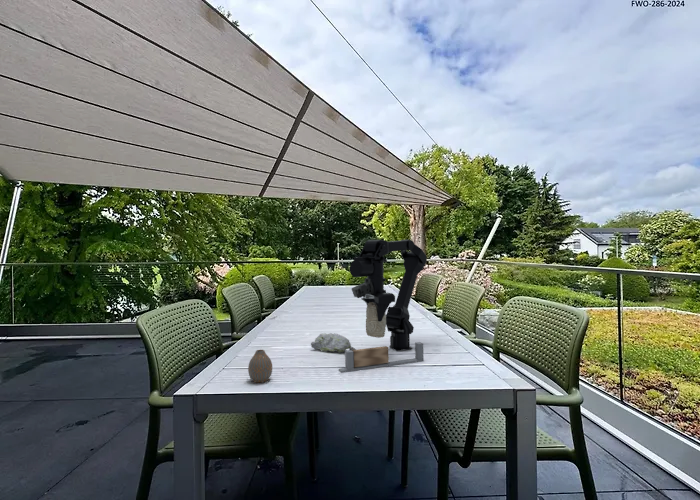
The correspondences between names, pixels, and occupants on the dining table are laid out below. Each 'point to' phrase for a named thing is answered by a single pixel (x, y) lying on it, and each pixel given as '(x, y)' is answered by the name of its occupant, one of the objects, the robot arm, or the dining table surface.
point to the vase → (260, 367)
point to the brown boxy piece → (370, 356)
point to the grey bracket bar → (350, 363)
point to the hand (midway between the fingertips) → (375, 319)
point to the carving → (374, 322)
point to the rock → (331, 342)
